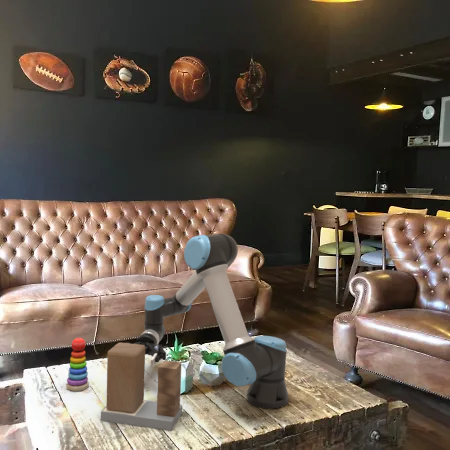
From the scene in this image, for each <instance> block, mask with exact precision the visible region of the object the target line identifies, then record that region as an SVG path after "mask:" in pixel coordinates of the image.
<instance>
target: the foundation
mask: <svg viewBox="0 0 450 450" xmlns="http://www.w3.org/2000/svg"><path fill="white" fill-rule="evenodd" d="M182 414H183V405H182V404H180V409H179V411H178V413H177V414H176V416H175V417H169V416H161V415H157V400H156V401H154V400H149V399H147V400H146V399H144V400H143V402H142V403H141V404H140V406H139V407H138V408H137V410H136V411H135V412H133V413H130V412H122V411H115V410H108V409H107V408H106V406H105V407H103V409H102V410H100V422H101V421H102V422H108V423H115V424H121V425H122V424H123V425H130V426H136V427H143V428H151V429H155V430H163V431H170V432H172V430H173V429H174V427H175V426H176V424H177V422H178V421H179V419H180V417H181V415H182Z"/></svg>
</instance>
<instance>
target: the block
mask: <svg viewBox="0 0 450 450" xmlns="http://www.w3.org/2000/svg"><path fill="white" fill-rule="evenodd" d="M106 359H107V360H106V362H107V363H106V364H107V366H106V367H107V368H106V406H105V407H106V408H107V409H108V410H115V411H122V412H130V413H133V412H135V411H136V410H137V408H138V407H139V406H140V404H141V403H142V402H143V400H145V375H146V374H145V371H146V369H145V368H146V355H145V346H144V345H139V344H134V343H126V342H118V343H116V344H115V345H114V346H113V347H112V348H110V349H108V351H107V358H106Z"/></svg>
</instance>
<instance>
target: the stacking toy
mask: <svg viewBox="0 0 450 450" xmlns="http://www.w3.org/2000/svg"><path fill="white" fill-rule="evenodd" d="M86 345H87V343H86V341H85V339H84V338H82V337H75V338H74V339H73V340H72V342H71V349H72V351H71V353H70V354H71V356H70V359H69V361H70V363H69V368H68V374H67V379H66V382H67V383H66V389H67V390H68V391H69V390H70V391H72V392H79V391H80V392H81V391H84V390H86V389H88V387H89V384H90V383H89V381H88V380H89V378H88V374H89V373H88V366H87V364H88V363H87V361H86V359H87V358H86V351H85V348H86Z"/></svg>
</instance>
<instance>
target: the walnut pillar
mask: <svg viewBox="0 0 450 450" xmlns="http://www.w3.org/2000/svg"><path fill="white" fill-rule="evenodd" d="M181 383H182V362H180V361H172V360H163V361H162V362H161V363H160V364H159V365H158V366H157V388H156V389H157V391H156V392H157V393H156V394H157V395H156V397H157V398H156V402H157V415H161V416H169V417H175V416H176V414H177V413H178V411H179V409H180V405H181V387H182V386H181V385H182V384H181Z"/></svg>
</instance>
